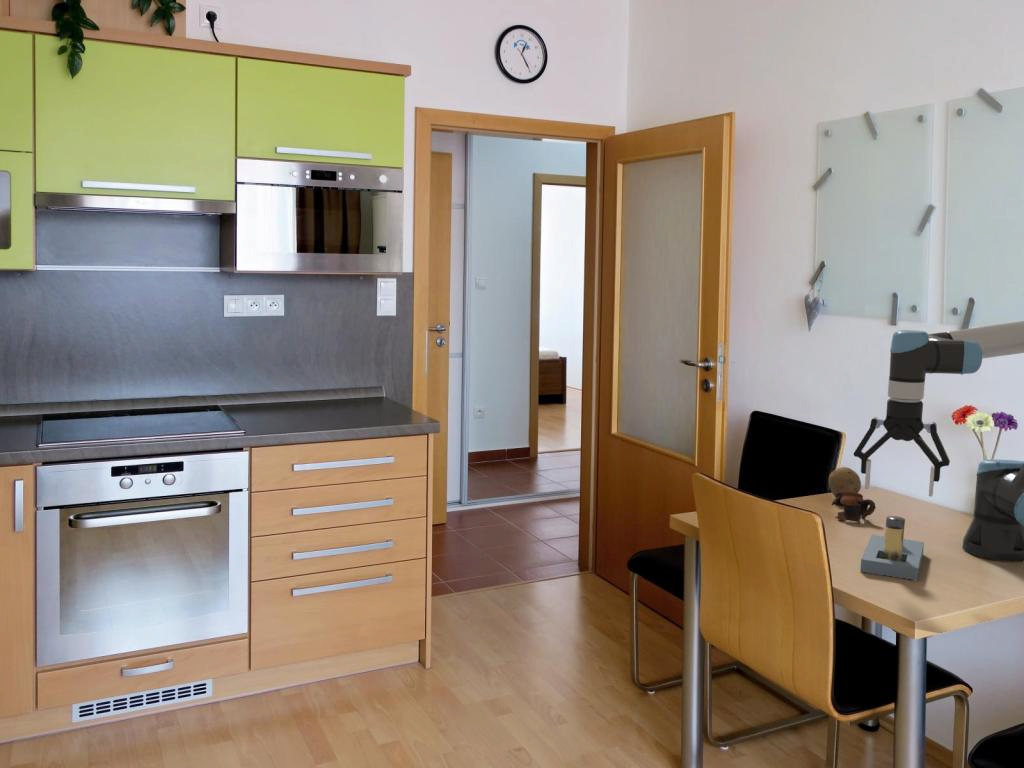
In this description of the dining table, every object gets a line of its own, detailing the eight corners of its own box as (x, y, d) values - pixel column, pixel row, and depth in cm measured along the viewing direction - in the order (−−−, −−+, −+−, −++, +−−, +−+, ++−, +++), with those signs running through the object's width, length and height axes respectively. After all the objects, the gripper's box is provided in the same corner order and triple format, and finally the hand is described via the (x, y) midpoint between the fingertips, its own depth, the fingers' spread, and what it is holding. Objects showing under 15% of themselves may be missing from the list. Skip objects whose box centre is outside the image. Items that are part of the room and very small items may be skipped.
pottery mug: (826, 520, 270) (826, 491, 273) (840, 529, 277) (839, 501, 280) (870, 517, 263) (870, 487, 266) (883, 527, 269) (882, 497, 272)
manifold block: (923, 554, 241) (924, 542, 240) (916, 580, 221) (918, 567, 221) (870, 546, 246) (871, 534, 245) (860, 571, 226) (861, 559, 226)
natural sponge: (843, 495, 295) (845, 462, 294) (866, 503, 288) (869, 469, 286) (820, 498, 291) (823, 465, 290) (843, 506, 283) (846, 472, 282)
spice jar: (901, 567, 230) (905, 517, 228) (899, 572, 226) (904, 521, 225) (882, 565, 232) (887, 515, 230) (881, 569, 228) (885, 519, 226)
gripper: (966, 401, 221) (958, 494, 224) (849, 392, 232) (843, 481, 235) (965, 406, 215) (957, 502, 218) (845, 397, 225) (839, 488, 228)
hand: (898, 491), depth 226 cm, fingers open, 13 cm apart
